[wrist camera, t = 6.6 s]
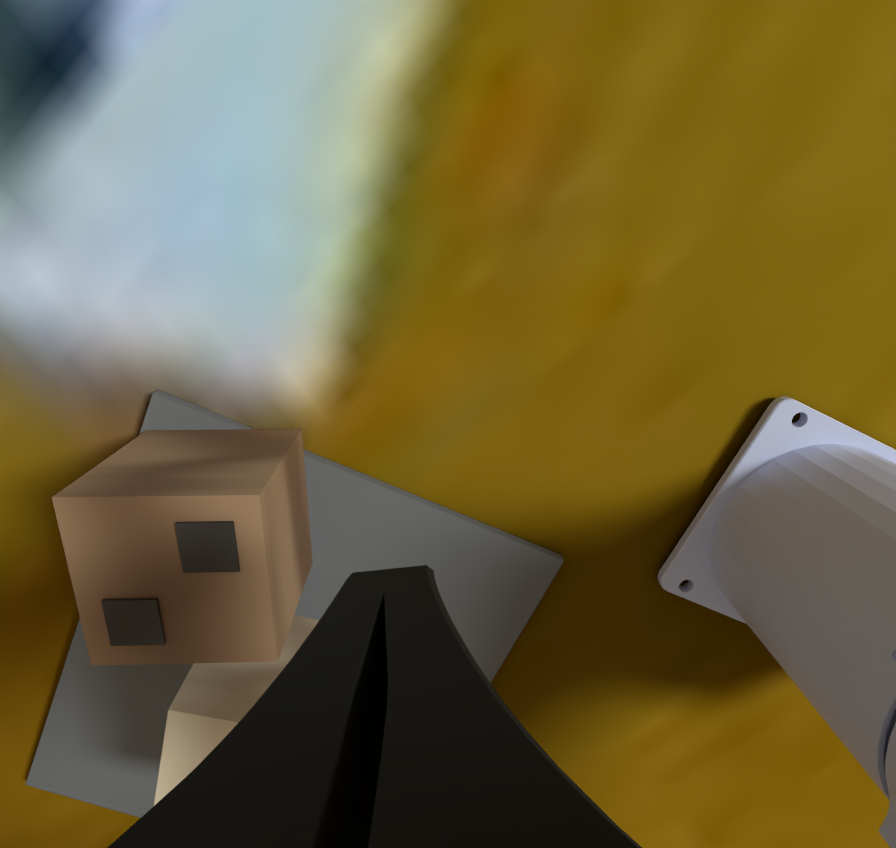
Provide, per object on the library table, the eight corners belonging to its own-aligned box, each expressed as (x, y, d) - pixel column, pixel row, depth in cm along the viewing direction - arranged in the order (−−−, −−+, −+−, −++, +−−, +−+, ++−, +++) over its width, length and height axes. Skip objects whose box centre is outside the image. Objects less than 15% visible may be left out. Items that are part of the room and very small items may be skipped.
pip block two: (302, 428, 19) (258, 496, 14) (312, 562, 21) (276, 664, 16) (146, 430, 19) (48, 499, 14) (169, 564, 20) (89, 668, 16)
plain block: (363, 629, 22) (344, 741, 17) (335, 731, 23) (311, 861, 18) (227, 601, 21) (168, 709, 16) (208, 707, 22) (149, 836, 18)
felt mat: (561, 555, 21) (564, 560, 21) (370, 874, 26) (370, 884, 26) (158, 389, 19) (152, 392, 18) (31, 775, 24) (25, 784, 23)
